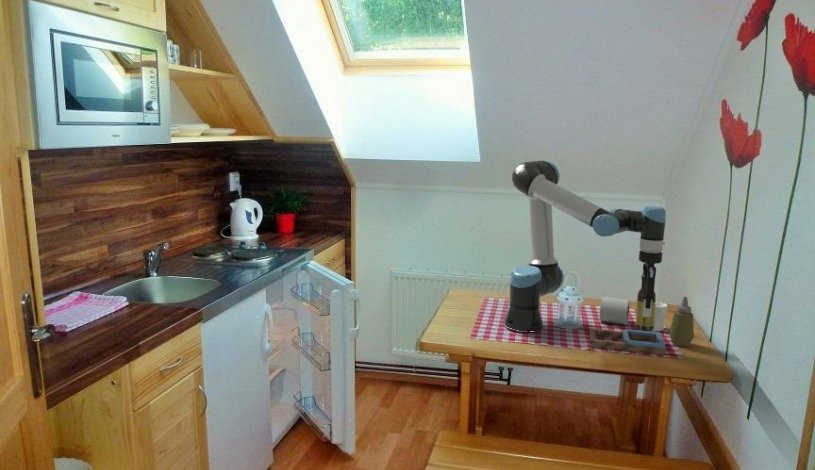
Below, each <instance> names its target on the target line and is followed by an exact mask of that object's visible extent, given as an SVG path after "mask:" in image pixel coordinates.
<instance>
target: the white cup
mask: <svg viewBox="0 0 815 470" xmlns="http://www.w3.org/2000/svg"><path fill="white" fill-rule="evenodd" d="M667 311H668V304H666V303H665V302H661V301H656V304H655V322H654V330H652V331H651V332H663V331H664V329H665V325H666V324H665V323H666V319H667V314H668V313H667Z"/></svg>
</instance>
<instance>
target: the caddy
mask: <svg viewBox="0 0 815 470" xmlns="http://www.w3.org/2000/svg"><path fill="white" fill-rule="evenodd" d="M596 338H607V339H614V340H615V339H616V340H622V341H614V340H613V341H612V340H606V339H605V340H604V339H596ZM589 341H590V343H589V344H591V346H590V348H594V347H599V348H598V349H603V348H609V349H608V350H613V349H616V350H615V351H622V350H623V352H633V353H644V354H653V355H654V354H655V355H663V356H665V355H666V344H665V343H666V342H665V341H664V338H663V336H662V334H661V332H660V331H640V330H638V329H626V328H625V329H624V330H622V331H619V330H610V329H599V328H589Z"/></svg>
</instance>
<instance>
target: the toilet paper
mask: <svg viewBox="0 0 815 470" xmlns="http://www.w3.org/2000/svg"><path fill="white" fill-rule="evenodd" d="M630 305H631V301H630V299H623V298H618V297H617V298H616V297H610V296H602V298H601V300H600V309H599V321H600V322H606V323H613V324H619V325H624V326H626V325H628V321H629V317H630Z"/></svg>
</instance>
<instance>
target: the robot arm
mask: <svg viewBox="0 0 815 470" xmlns="http://www.w3.org/2000/svg"><path fill="white" fill-rule="evenodd" d="M511 175H512V176H511V179H512V180H511V181H512V184H513V186H514V187H515V188H516V190H517V191H519V192H521V193H522V194H524V195H525V197H526V198H527V199H529V213H530V215H529V216H530V217H529V219H530V235H531V236H530V237H531V256H532V257H531V258H530V260H529V261H528V265H524V266H522V265H521V266H518V267H515V268H514V269H512V271H511V273H510V278H509V307H508V308H507V311H506V315H505V316H504V317H505V318H504V321H503V325H504V324H505V325H506V326H507V327H509V328H512V329H515V330H519V331H527V332H530V331H538V330H541V329H542V328H543V329H544V321H543V317H542V314H541V310H540V305H541V304H540V303H541V302H540V301H541V298H542V297H544V296H547V295H550V294H553V293H555V292H556V291H558V290H559V289H560V288H561V287H562V285H563V283H564V279H565V276H564V272H563V269H561V267H560V266H559V261H558V259H556V257H555V255H554V254H555V253H554V251H555V250H554V233H553V232H554V229H553V210H552V209H553V207H554V208H555V209H558V210H560V211H561V212H563V213H565V214H567V215H569V216H570V217H572V218H574V219H576V220H578V221H580V222H582V223H583V224H585V225H588V227H590V228H592V230H593V231H594V232H595V234H597V236H600V237H611V236H613V235H616V234H620V233H621V234H622V233H624V232H632V233H640V237H639V238H640V239H639V249H640V250H639V251H638V252H639V254H638V261H640V263H643V264H642V275H644V279H645V280H646V282H645V297H643V299H644V304H643V317H651V311H652V299H654V292H655V285H656V284H655V283H656V274H657V268H656V266H655V264H661V263H662V261H663V250H664V249H663V248H664V247H663V246H665V245H666V242H665V241H664V239H665V228H666V219H667V218H666V217H667V216H666V208H664V207H661V206H650V205H649V206H644V207H643V209H642V211H641V210H640V211H636V210H630V209H623V208H613V209H610V210H607V209H604V208H602V207H601V206H599V205H597V204H595V203H593V202H592V201H589V200H587V199H585V198H583V197H581V196H579V195H578V194H575V193H574V192H572V191H570V190H568V189H566V188H564V187H563V186H560V185H558V184H559V181H560V172H559V169H558V167H557V166H556V165H555V164H554V163H553V162H551V161H548V160H535V161H523V162H520V163H519V164H518V165H516V166H515V168H514V169H513V172H512V174H511ZM543 329H542V330H543ZM542 330H541V331H542ZM538 332H539V331H538Z"/></svg>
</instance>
